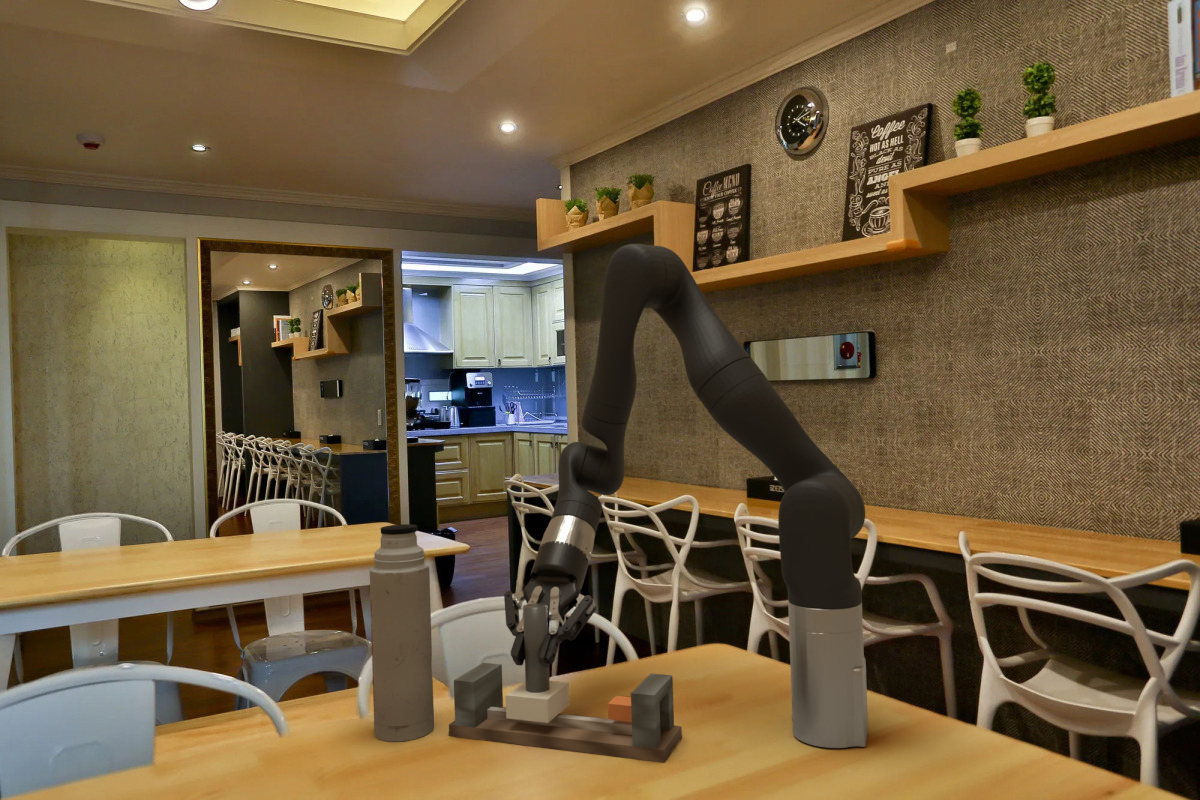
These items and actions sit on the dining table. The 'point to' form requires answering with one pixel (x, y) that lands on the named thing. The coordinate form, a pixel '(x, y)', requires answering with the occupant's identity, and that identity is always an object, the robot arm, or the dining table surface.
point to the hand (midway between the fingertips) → (530, 663)
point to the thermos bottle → (401, 637)
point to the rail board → (569, 720)
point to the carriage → (536, 675)
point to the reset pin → (620, 709)
